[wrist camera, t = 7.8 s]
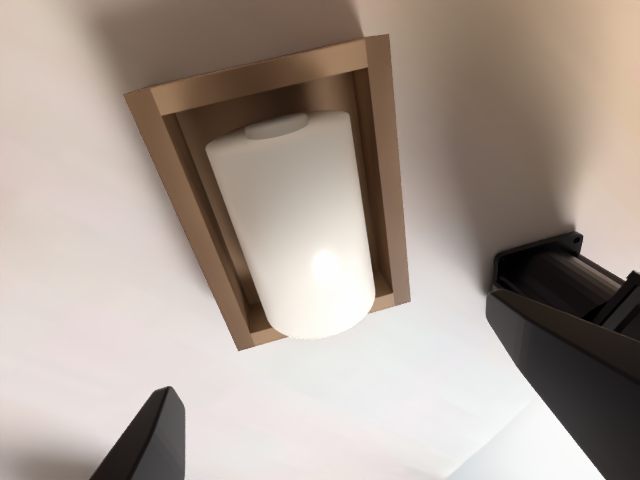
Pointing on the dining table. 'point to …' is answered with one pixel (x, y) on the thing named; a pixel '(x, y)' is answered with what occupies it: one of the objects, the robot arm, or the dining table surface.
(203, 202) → the walnut cradle
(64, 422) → the dining table surface
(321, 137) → the paper roll
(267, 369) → the dining table surface
